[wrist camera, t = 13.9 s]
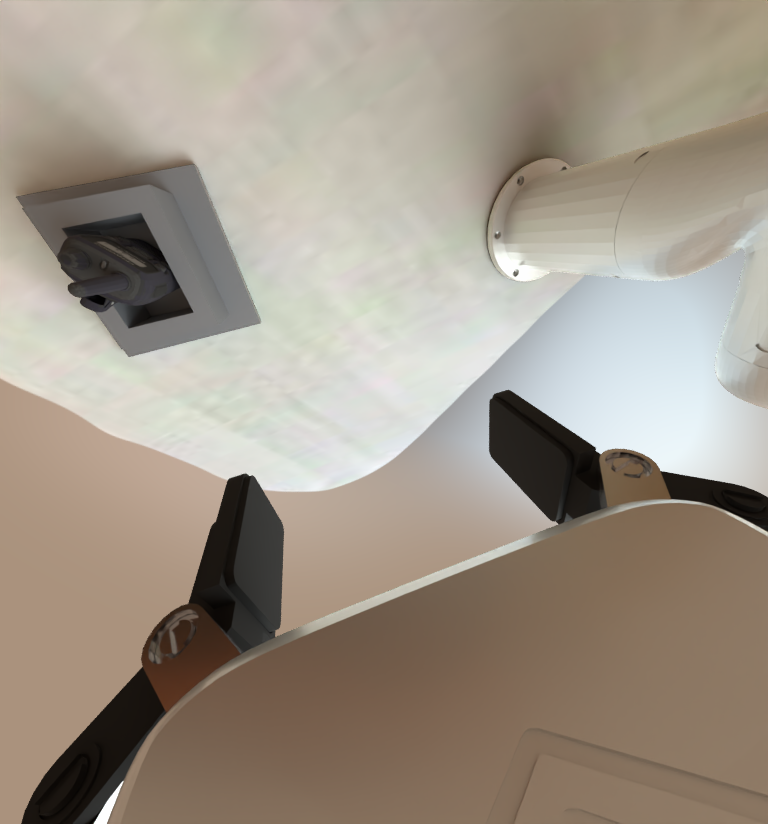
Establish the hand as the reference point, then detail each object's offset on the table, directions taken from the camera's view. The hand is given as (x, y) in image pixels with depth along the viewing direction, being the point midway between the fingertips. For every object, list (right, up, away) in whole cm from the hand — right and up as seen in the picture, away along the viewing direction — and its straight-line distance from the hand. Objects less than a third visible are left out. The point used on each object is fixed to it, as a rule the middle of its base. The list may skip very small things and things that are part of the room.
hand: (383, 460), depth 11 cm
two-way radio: (-22, +16, +17) cm, 32 cm away
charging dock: (-22, +16, +18) cm, 33 cm away
